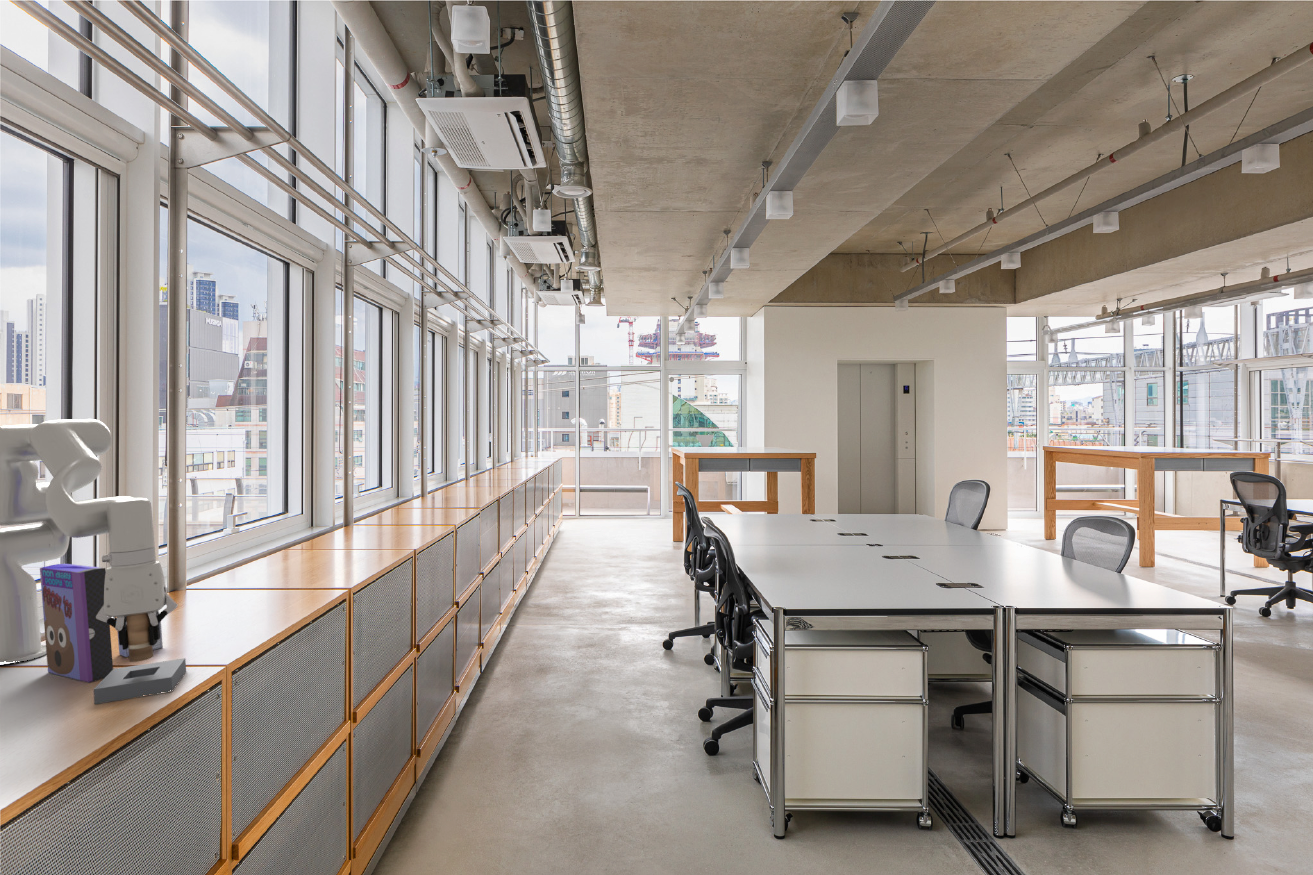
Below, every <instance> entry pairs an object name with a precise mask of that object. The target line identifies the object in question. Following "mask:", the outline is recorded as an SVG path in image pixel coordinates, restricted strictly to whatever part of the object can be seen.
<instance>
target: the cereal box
mask: <svg viewBox="0 0 1313 875" xmlns="http://www.w3.org/2000/svg"><path fill="white" fill-rule="evenodd" d="M106 569H107V568H106V567H99V566H89V565H83V564H82V565H81V564H71V563H56V564H49V565H46V566H42V567H39V576H40V589H41V590H40V591H41V600H42V601H41V602H42V612H43V613H42V614H43V624H44V628H43V629H44V639H45V645H46V653H47V654H46V663H47V672H48V674H50V675H54V676H59V677H61V678H62V677H63V678H65V679H71V680H74V681H78V682H82V683H86V684H91V683H94V682H97V681H102V680H103V679H104V678H105V677H106V676H107V675H108V674H109V673H110V672H111V671H112V670H113V669H114V665H113V662H114V661H113V651H112V650H113V649H112V640H111V639H112V638H111V625H109V624H108V623H107V622H103V621H101V620H98V619H96V615H97V614H98V612H99V611H100V609H101V608H102V606H103V605H104V582H105V573H106Z"/></svg>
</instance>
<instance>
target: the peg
mask: <svg viewBox="0 0 1313 875" xmlns="http://www.w3.org/2000/svg"><path fill="white" fill-rule="evenodd" d="M126 623H127V635H128V649H129V656H128V658H129V662H130V663H131V662H133V663H134V662H135V663H136V662H142V661H146V660H149V659H151V658H153V657H154V650H153V648H152V646H151V645H150V641H149V627H150V619H149V616H148V613H143V614H136V615H128V616H126Z"/></svg>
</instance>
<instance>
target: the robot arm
mask: <svg viewBox="0 0 1313 875" xmlns="http://www.w3.org/2000/svg"><path fill="white" fill-rule="evenodd" d="M111 433H112V432H111V430H110V429H109V427H108V426H107V425H106V424H105V423H104V422H102V421H100V420H98V419H93V418H87V419H86V418H84V419H83V418H82V419H81V418H79V419H53V420H47V421H43V422H40V423H39V424H36V423H35V424H33V423H32V424H12V425H0V526H3V527H1V528H0V662H4V661H6V662H13V661H15V662H16V661H17V662H18V661H24V662H27V660H28V661H32V660H35V659H37V658H41V657H43V656H45V655H47V653H46V644H42V642H41V641H42V632H41V629H40V628H41V626H40V616H39V614H40V613H39V605H38V604H39V603H38V602H39V601H38V592H37V590H38V589H37V583H36V580H35V578H34V577H33V576H32V575H31V574H29V573H28V572H27V571H26V570H24V568H22V567H23V566H26V565H27V566H28V565H31V564H35V563H41V562H42V563H43V562H48V561H52V560H57V559H59V558H61V557H63V556H64V555H66V553H67V552H68V549H69V544H70V538H75V539H78V538H79V539H81V538H86V537H87V538H88V537H93V536H99V535H105V534H108V543H109V544H108V545H109V553H108V554H105V555H102V556H101V562H102V563H109V566H110V567H107V568H105V569H106V573H105V582H104V605H103V606H102V608H101V609H100V611H99V612H98V614H97V615H96V619H98V620H101V621H103V622H107V623H108V624H109V625H110V627H112V628H114V629H115V630H116V632H117V631H118V632H117V636H118V635H119V645H122V648H123V650H125V649H127V648H128V635H127V624H126V616H128V615H136V614H143V613H148V616H149V619H150V622H151V623H150V627H149V641H150V645H151V646H152V645H155V644H156V643H157V641H158V640H159V639H160V627H159V623H160V622H161V623H162V621H163V620H164V618H165V617H166V616H168V615H169V614H170V613H172V612H173V611H175V610H176V609H177V608H178V605H179V604H178V603H177V602H175V600H174V599H173V598H172V597H171V596H170V595H169V594H168V591H167V584H166V581H165V576H164V572H163V568H162V565H161V562H160V561H159V560H156V547H155V546H156V545H155V536H154V535H155V532H154V522H153V521H154V520H153V508H152V502H151V501H150V500H149V499H148V498H145V497H133V496H127V495H122V496H121V495H120V496H111V497H99V498H92V499H84V500H74V498H73V493H74V492H76V491H78V490H80V489H82V488H85V487H86V486H88V485H90V484H92V483H93V482H94V481H95V480H96V479H97V478H98V477H99V476H100V474H101V472H102V463H101V461H100V459H98V457H97V456H102V455H103V454H106V453H107V452H109V450H110V449H111V447H112V444H113V443H112V442H113V439H112V438H113V435H112V434H111ZM36 462H42V463H43V465H44V466H45V467H46V469H47V470H48V472H49V473H50V474H51V476H52V479H51V481H46V482H38V481H39V480H38V478H39V467H38V465H37V463H36ZM4 526H5V527H4ZM6 526H8V527H6ZM165 606H166V607H165ZM164 607H165V608H164ZM163 608H164V609H163ZM162 609H163V610H162ZM160 610H161V612H160ZM119 645H118V646H119ZM34 658H35V659H34Z"/></svg>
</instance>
